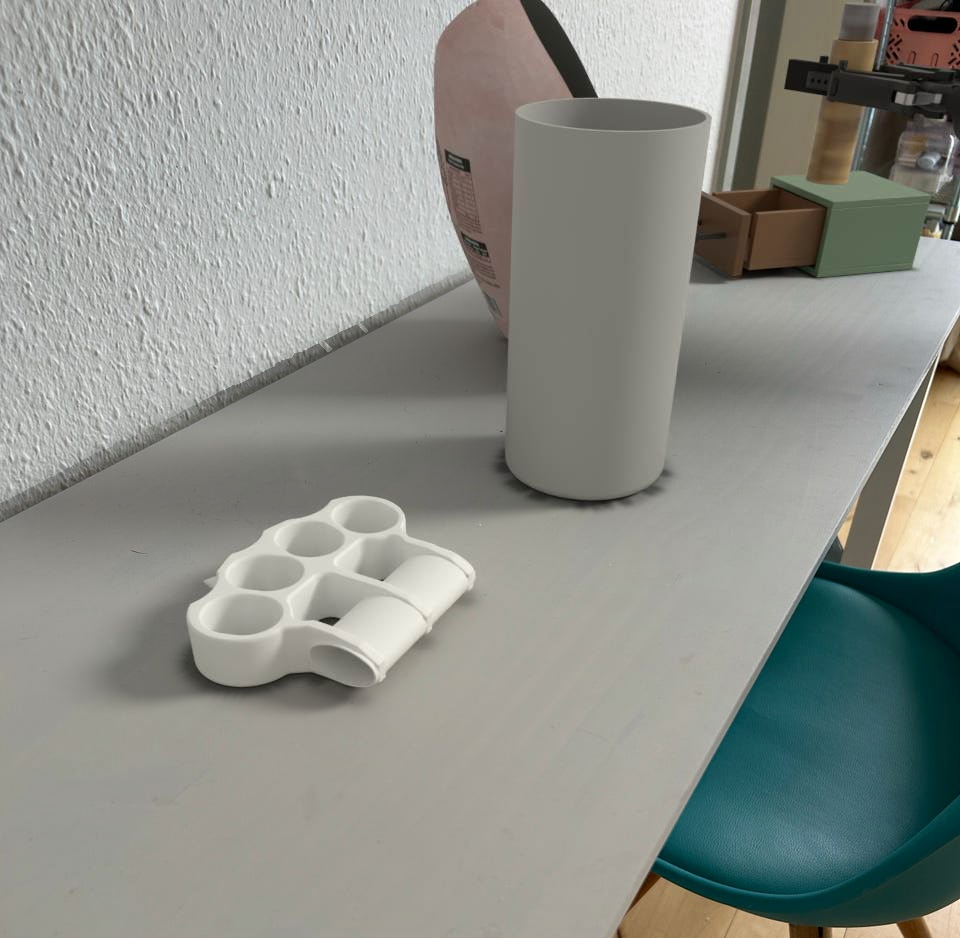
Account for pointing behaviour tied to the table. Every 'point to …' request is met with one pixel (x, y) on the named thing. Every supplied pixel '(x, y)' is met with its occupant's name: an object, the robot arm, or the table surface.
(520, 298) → the cylinder vase
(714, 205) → the drawer
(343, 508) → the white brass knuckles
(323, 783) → the table surface
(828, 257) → the cabinet
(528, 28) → the packaged food
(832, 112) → the salt mill
